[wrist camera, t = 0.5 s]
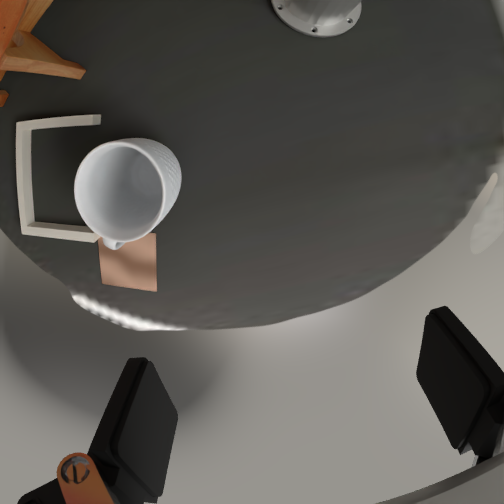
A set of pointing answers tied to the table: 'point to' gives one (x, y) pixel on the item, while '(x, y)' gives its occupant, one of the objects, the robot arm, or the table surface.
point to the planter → (28, 43)
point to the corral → (26, 180)
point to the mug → (126, 188)
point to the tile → (130, 264)
